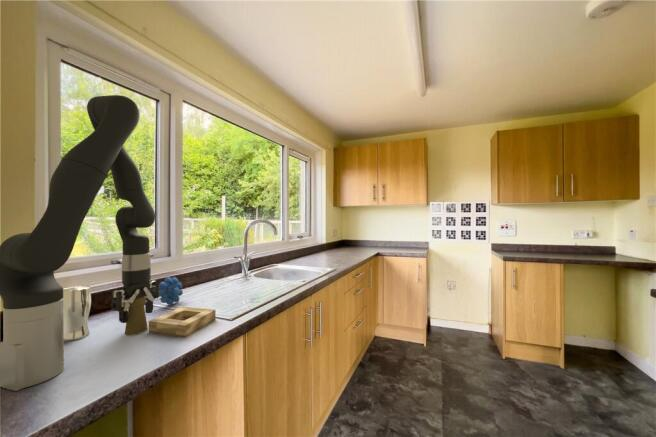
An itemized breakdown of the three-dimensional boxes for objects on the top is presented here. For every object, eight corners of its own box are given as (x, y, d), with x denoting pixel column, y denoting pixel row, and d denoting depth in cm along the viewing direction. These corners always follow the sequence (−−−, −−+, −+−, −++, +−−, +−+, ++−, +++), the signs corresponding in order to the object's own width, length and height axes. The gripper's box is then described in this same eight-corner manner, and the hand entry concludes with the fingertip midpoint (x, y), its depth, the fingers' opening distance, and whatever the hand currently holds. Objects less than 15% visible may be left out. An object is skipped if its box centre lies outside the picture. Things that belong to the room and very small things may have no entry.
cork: (135, 335, 81) (135, 300, 81) (119, 333, 82) (119, 299, 82) (152, 327, 87) (152, 294, 87) (137, 326, 88) (137, 293, 88)
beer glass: (61, 336, 81) (61, 287, 81) (91, 329, 85) (91, 284, 85) (58, 344, 75) (57, 292, 75) (90, 337, 80) (90, 288, 80)
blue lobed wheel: (166, 310, 102) (166, 280, 102) (153, 309, 104) (153, 279, 104) (190, 301, 114) (189, 274, 114) (177, 300, 116) (177, 273, 115)
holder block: (184, 337, 80) (184, 325, 80) (148, 332, 83) (148, 321, 83) (215, 319, 93) (215, 309, 93) (183, 316, 97) (183, 306, 97)
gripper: (123, 272, 77) (123, 327, 77) (164, 264, 90) (165, 310, 91) (104, 271, 78) (104, 325, 79) (147, 263, 92) (148, 308, 92)
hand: (137, 317), depth 85 cm, fingers open, 8 cm apart
